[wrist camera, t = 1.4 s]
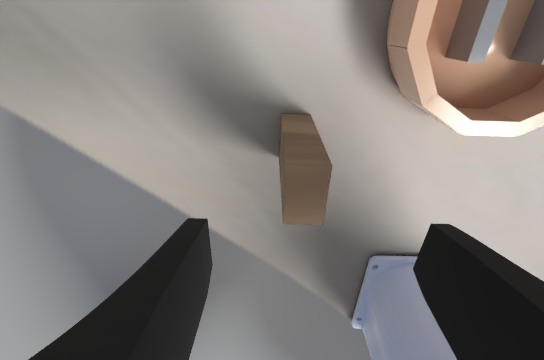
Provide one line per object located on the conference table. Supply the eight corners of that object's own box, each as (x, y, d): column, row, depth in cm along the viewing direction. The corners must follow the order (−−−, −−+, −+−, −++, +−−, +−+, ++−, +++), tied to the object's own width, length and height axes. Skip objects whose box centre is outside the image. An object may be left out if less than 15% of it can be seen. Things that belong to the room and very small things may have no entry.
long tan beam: (305, 158, 18) (322, 224, 12) (279, 157, 18) (282, 223, 12) (310, 114, 17) (332, 165, 11) (281, 113, 17) (286, 164, 11)
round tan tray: (542, 121, 17) (590, 138, 15) (368, 116, 17) (385, 133, 14) (675, -129, 12) (791, -172, 9) (421, -141, 12) (466, -189, 9)
